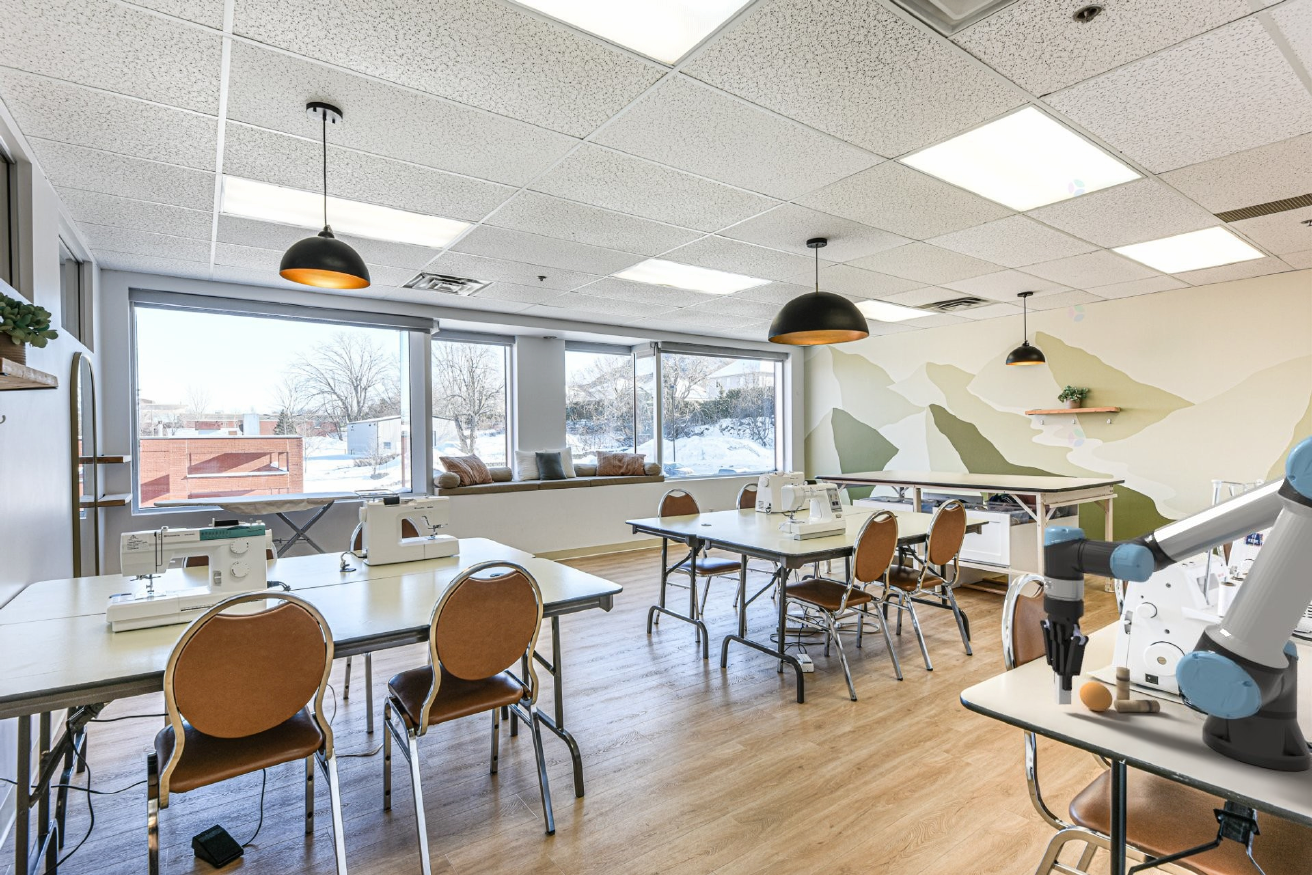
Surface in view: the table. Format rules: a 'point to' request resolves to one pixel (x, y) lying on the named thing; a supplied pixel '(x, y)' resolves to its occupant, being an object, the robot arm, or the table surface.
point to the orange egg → (1096, 696)
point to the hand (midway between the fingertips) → (1062, 702)
